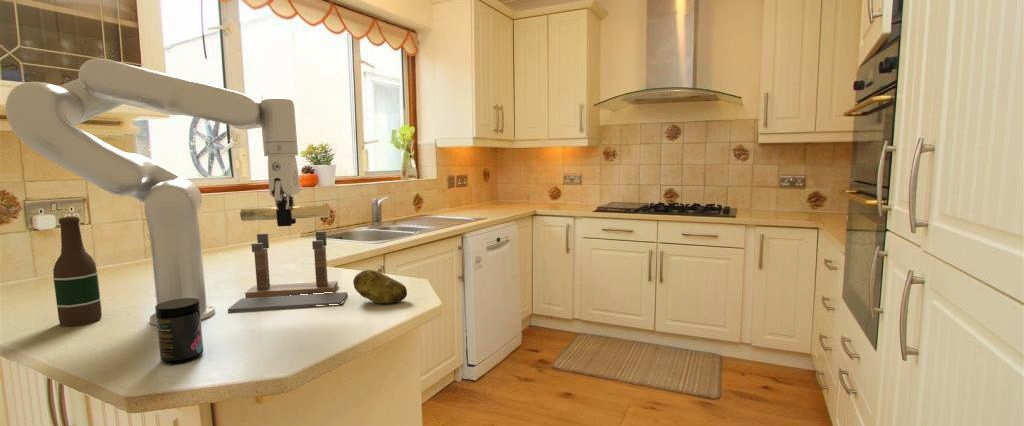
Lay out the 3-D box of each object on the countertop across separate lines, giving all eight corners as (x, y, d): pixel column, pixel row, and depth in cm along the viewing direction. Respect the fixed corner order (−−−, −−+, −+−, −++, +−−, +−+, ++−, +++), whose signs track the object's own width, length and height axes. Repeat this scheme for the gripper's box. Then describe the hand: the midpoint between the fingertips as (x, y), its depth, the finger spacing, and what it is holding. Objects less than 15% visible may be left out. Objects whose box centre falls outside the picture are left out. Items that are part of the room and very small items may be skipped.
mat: (342, 305, 123) (341, 301, 122) (228, 312, 118) (227, 309, 118) (347, 295, 131) (347, 292, 131) (241, 301, 127) (241, 298, 127)
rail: (328, 217, 123) (327, 205, 122) (240, 221, 119) (239, 209, 119) (330, 216, 125) (329, 204, 125) (245, 220, 122) (244, 208, 122)
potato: (389, 310, 118) (388, 277, 117) (348, 303, 124) (347, 272, 123) (411, 300, 126) (410, 269, 125) (371, 295, 131) (370, 265, 130)
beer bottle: (109, 319, 114) (97, 215, 112) (66, 329, 108) (53, 220, 105) (95, 313, 118) (83, 214, 116) (52, 323, 112) (39, 218, 109)
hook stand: (333, 292, 134) (330, 234, 132) (245, 298, 130) (240, 237, 128) (337, 286, 140) (334, 230, 139) (254, 291, 137) (249, 233, 135)
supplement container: (190, 365, 88) (185, 308, 87) (151, 366, 88) (145, 309, 87) (211, 350, 95) (207, 297, 94) (175, 351, 95) (170, 298, 93)
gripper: (288, 149, 113) (294, 229, 115) (305, 149, 129) (310, 219, 131) (253, 150, 112) (260, 230, 114) (274, 150, 128) (280, 221, 130)
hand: (286, 224), depth 122 cm, fingers closed on rail, 3 cm apart
